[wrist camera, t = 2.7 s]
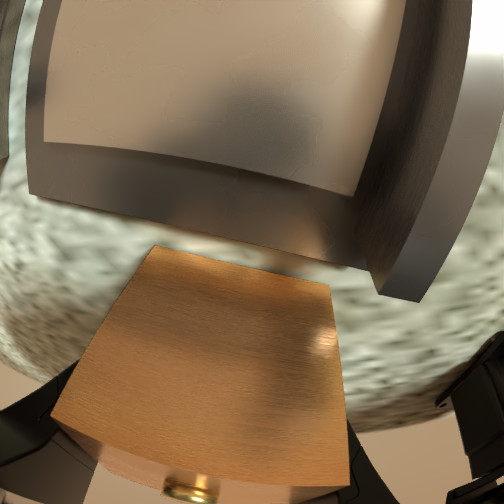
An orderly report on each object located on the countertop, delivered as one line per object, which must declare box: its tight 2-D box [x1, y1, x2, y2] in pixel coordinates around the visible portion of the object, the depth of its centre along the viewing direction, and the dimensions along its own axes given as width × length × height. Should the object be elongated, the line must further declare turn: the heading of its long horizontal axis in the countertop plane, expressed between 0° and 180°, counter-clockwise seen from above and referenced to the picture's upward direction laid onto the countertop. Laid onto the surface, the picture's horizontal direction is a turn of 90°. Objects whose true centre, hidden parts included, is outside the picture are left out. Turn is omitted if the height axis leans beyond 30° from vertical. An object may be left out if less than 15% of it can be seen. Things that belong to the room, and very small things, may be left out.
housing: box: [50, 245, 350, 504], centre depth 7 cm, size 6×6×6 cm
